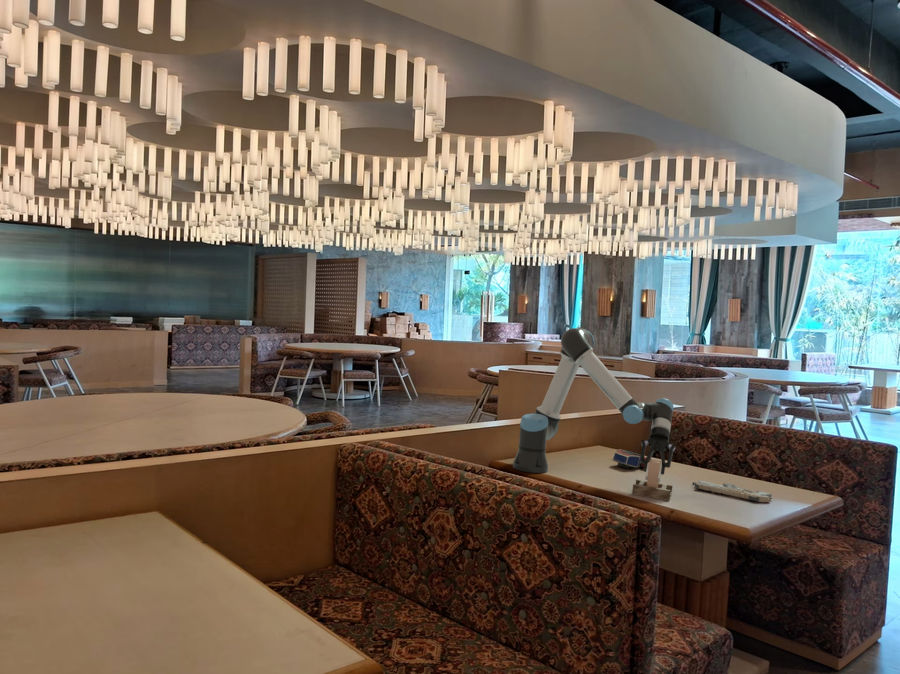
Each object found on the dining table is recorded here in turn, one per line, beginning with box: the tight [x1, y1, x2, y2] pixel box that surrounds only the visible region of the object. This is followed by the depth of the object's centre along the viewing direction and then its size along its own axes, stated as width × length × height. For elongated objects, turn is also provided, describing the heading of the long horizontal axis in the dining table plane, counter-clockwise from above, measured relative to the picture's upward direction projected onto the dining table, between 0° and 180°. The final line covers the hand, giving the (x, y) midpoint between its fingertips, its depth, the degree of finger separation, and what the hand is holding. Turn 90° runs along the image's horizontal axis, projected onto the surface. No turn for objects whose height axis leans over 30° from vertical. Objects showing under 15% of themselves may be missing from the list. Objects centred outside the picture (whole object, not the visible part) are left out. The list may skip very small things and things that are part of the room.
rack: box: [631, 479, 673, 501], centre depth 267 cm, size 14×12×4 cm
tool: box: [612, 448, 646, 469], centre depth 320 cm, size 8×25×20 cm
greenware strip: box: [646, 458, 662, 488], centre depth 267 cm, size 4×5×11 cm
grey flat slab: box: [692, 480, 773, 503], centre depth 280 cm, size 30×3×20 cm
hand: (652, 479), depth 263 cm, fingers closed on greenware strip, 4 cm apart
